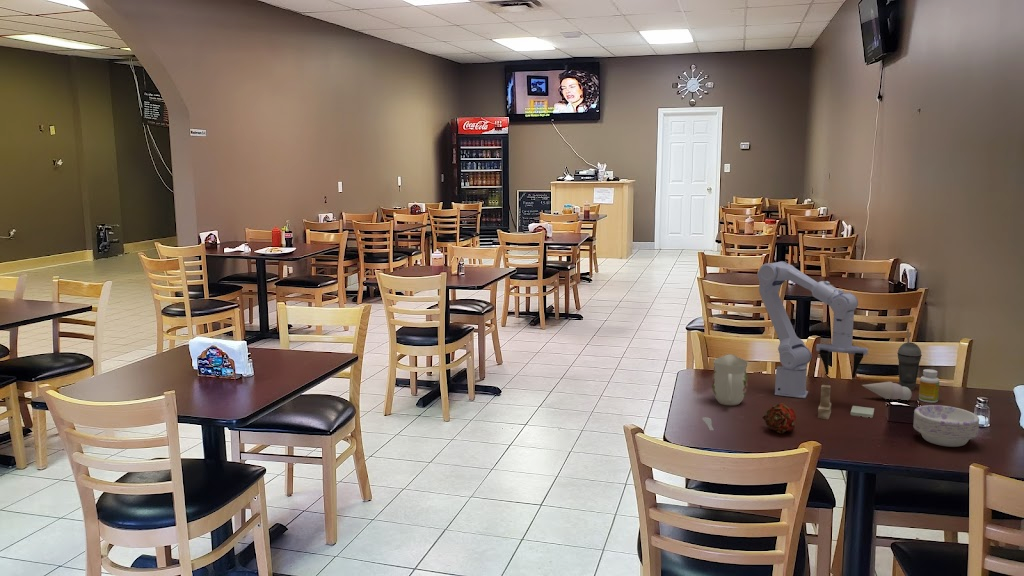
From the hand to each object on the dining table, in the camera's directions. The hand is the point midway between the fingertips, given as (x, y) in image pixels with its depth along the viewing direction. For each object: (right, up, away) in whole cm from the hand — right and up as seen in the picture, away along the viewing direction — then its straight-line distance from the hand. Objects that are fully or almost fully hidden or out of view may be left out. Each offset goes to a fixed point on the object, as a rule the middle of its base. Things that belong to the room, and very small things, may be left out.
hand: (840, 375), depth 238 cm
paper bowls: (+14, -14, -31) cm, 38 cm away
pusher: (-8, -11, -8) cm, 16 cm away
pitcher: (-33, -9, +4) cm, 35 cm away
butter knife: (-45, -14, -22) cm, 52 cm away
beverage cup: (+31, -7, +19) cm, 37 cm away
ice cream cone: (+17, -9, +6) cm, 20 cm away
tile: (+1, -10, -6) cm, 12 cm away
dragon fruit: (-27, -13, -22) cm, 37 cm away
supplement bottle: (+30, -9, +5) cm, 32 cm away
